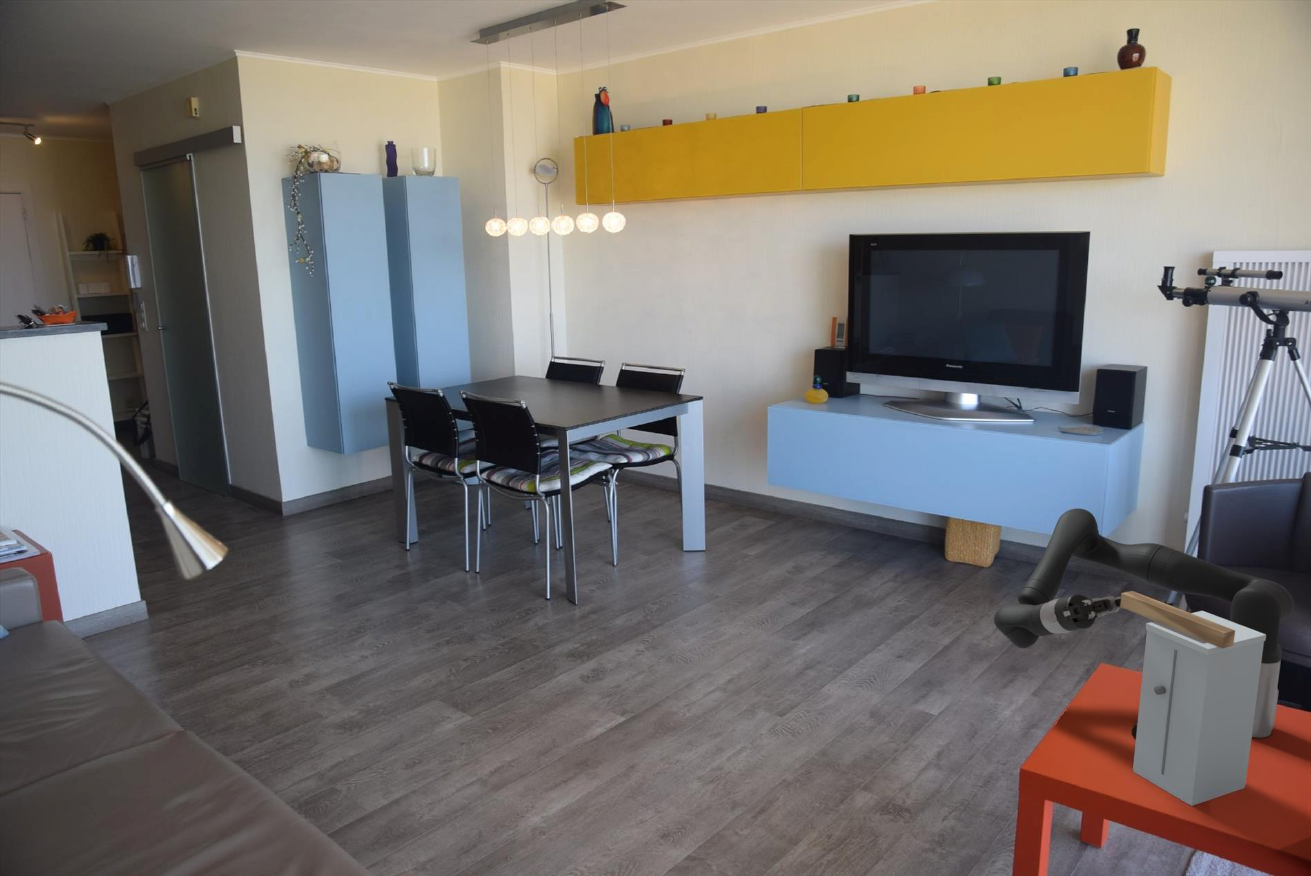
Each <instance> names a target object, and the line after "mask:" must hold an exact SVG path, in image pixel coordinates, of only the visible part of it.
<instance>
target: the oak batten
mask: <svg viewBox="0 0 1311 876" xmlns="http://www.w3.org/2000/svg"><path fill="white" fill-rule="evenodd" d="M1120 596H1121V605H1120V607H1122V609H1124V610H1127V611H1129V612H1131V613H1133V614H1137V615H1138V616H1142V617H1144V618H1147V619H1149V620H1151V621H1153V622H1154V621H1156V622H1158V623H1161V624H1163V625H1166V626H1168V627H1171V628H1173V629H1176V630H1178V631H1181V632H1183V633H1185V634H1188V635H1190V636H1193V637H1195V638H1198V639H1200V640H1203V641H1205V642H1208V643H1210V644H1213V645H1215V646H1217V647H1220V648H1226V647H1230V646H1233V645H1234V637H1235V630H1233V629H1230V628H1228V627H1225V626H1223V625H1220V624H1217V623H1215V622H1212V621H1209V620H1207V619H1204V618H1202V617H1199V616H1196V615H1194V614H1191V613H1192V612H1191V613H1190V612H1188V611H1186V610H1184V609H1180V608H1178V607H1176V606H1173V605H1170V604H1167V603H1165V602H1163V601H1159V600H1157V599H1155V598H1151V597H1150V596H1146V595H1143V594H1142V593H1138V592H1136V591H1133V590H1130V591H1125V592H1121V595H1120Z"/></svg>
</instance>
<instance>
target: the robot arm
mask: <svg viewBox="0 0 1311 876" xmlns="http://www.w3.org/2000/svg"><path fill="white" fill-rule="evenodd" d="M1099 531H1100V530H1099V526H1098V522H1097V520H1096V518H1095V516H1094V514H1093V513H1092V512H1091V511H1089V510H1086V509H1084V508H1077V507H1076V508H1071V509H1069V510H1067V511H1065V512H1063V513H1062V514H1061V515H1060V517H1058V520H1057V522H1056V524H1055V527H1054V529H1053V532H1052V535H1051V537H1050V539H1049V542H1048V544H1047V546H1046V547H1045V550H1044V552H1043V553H1042V556H1041V558H1040V559H1039V561H1038V563H1037V565H1036V567H1035V569H1034V570H1033V572H1032V574H1031V575H1030V577H1029V578H1028V579H1027V581H1026V582H1025V584H1024V586H1023V587H1022V589H1021V590H1020V591H1019V593H1018V595H1017V602H1018V603H1011V604H1006V605H1004V606H1001V607H1000V608H999V609H998V610H997V611H996V612H995V615H994V617H993V624H994V625H995V627H996V629H998V631H999V632H1000V633H1002V634H1003V635H1004V636H1005V637H1006V638H1007V639H1008V640H1009V641H1010V642H1011V643H1012V644H1013V645H1014V646H1015V647H1016V648H1019V649H1028V648H1030V647H1032V646H1033V645H1035V644H1036V642H1037V641H1038V640H1039V638H1040V637H1046V636H1051V635H1056V634H1067V633H1071V632H1076V631H1080V630H1086V629H1090V628H1091V627H1092V626H1093V625H1094V624H1095V621H1096V619H1097V618H1099V617H1100V618H1101V617H1104V616H1105V615H1108V614H1114V613H1117V612H1118V611H1119V610H1122V609H1123V608H1122V607H1120V605H1121V595H1120V596H1116V597H1114V596H1113V595H1109V596H1105V597H1095V598H1090V599H1089V598H1088V597H1087V596H1085V595H1084V594H1081V593H1074V594H1071V595H1066V596H1062V597H1058V598H1055V597H1056V596H1057V594H1058V592H1059V591H1060V588H1061V586H1062V583H1063V580H1064V578H1065V575H1066V571H1067V568H1068V566H1069V563H1070V560H1071V558H1072V557H1075V558H1077V559H1080V560H1081V559H1082V560H1084V561H1088V562H1091V563H1095V564H1099V565H1102V566H1105V567H1109V568H1111V569H1115V570H1117V571H1120V572H1122V573H1125V574H1128V575H1130V576H1133V577H1136V578H1138V579H1142V580H1143V581H1144V582H1148V583H1151V584H1153V585H1156V586H1159V587H1160V588H1163V589H1165V590H1169V591H1172V592H1176V593H1182V594H1187V595H1196V596H1203V597H1209V598H1215V599H1217V600H1221V601H1223V602H1225V603H1228V604H1231V606H1230V613H1229V614H1230V616H1229V621H1231V622H1234V623H1236V624H1239V625H1242V626H1244V627H1247V628H1250V629H1252V630H1255V631H1258V632H1260V633H1263V634H1266V640H1265V641H1264V645H1263V652H1262V660H1261V668H1260V676H1259V684H1258V691H1257V699H1256V707H1255V715H1254V723H1253V730H1252V738H1267V737H1269V736H1270V735H1272V730H1274V728H1275V720H1276V714H1277V713H1276V712H1277V706H1278V699H1279V689H1278V683H1279V676H1280V669H1281V660H1282V655H1283V648H1282V646H1281V645H1280V643H1278V642H1279V641H1278V640H1279V633H1280V632H1279V631H1280V629H1279V628H1280V623H1281V622H1283V621H1284V620H1286V619H1287V618H1288V617H1289V616H1290V615H1291V614H1292V612H1294V609H1295V600H1294V598H1293V595H1292V594H1291V593H1290V591H1288V589H1287V588H1285V587H1284V586H1283V585H1281V584H1280V583H1277V582H1275V581H1273V580H1269V579H1265V578H1261V577H1258V576H1254V575H1250V574H1245V573H1242V572H1238V571H1234V570H1232V569H1228V568H1224V567H1223V566H1220V565H1217V564H1214V563H1212V562H1209V561H1207V560H1204V559H1202V558H1198V557H1196V556H1193V555H1191V554H1188V553H1186V552H1183V551H1180V550H1178V549H1175V548H1172V547H1169V546H1166V545H1163V544H1160V543H1153V542H1145V543H1134V544H1128V543H1121V542H1118V541H1116V540H1113V539H1110V538H1108V537H1105V536H1103V535H1102V534H1100V532H1099Z"/></svg>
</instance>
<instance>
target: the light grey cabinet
mask: <svg viewBox="0 0 1311 876" xmlns="http://www.w3.org/2000/svg"><path fill="white" fill-rule="evenodd" d="M1191 614H1194V615H1196V616H1199V617H1202V618H1204V619H1207V620H1209V621H1212V622H1215V623H1217V624H1220V625H1223V626H1225V627H1228V628H1230V629H1233V630H1235V637H1234V645H1233V646H1230V647H1226V648H1220V647H1217V646H1215V645H1213V644H1210V643H1208V642H1205V641H1203V640H1200V639H1198V638H1195V637H1193V636H1190V635H1188V634H1185V633H1183V632H1181V631H1178V630H1176V629H1173V628H1171V627H1168V626H1166V625H1163V624H1161V623H1158V622H1156V621H1154V620H1153V621H1150V622H1147V623H1145V630H1146V638H1145V648H1144V654H1143V655H1144V656H1143V664H1142V665H1143V666H1142V675H1141V685H1140V696H1139V706H1138V707H1139V708H1138V714H1137V715H1138V717H1137V721H1138V724H1137V734H1136V739H1135V746H1134V755H1133V756H1134V757H1133V766H1132V772H1133V773H1135V774H1137V776H1140V777H1142V778H1143V779H1145V780H1147V781H1149V782H1150V783H1152V784H1154V785H1155V786H1157V787H1159V788H1160V789H1162V790H1164V791H1165V792H1167V793H1169V794H1170V795H1172V796H1174V797H1176V798H1177V799H1179V800H1181V801H1183V803H1186V804H1187V805H1189V806H1190V807H1192V806H1195V805H1199V804H1202V803H1204V802H1208V801H1211V800H1213V799H1216V798H1217V799H1218V798H1219V797H1222V796H1225V795H1228V794H1231V793H1235V792H1237V791H1240V790H1243V789H1245V788H1246V784H1247V776H1248V767H1249V761H1250V760H1249V759H1250V752H1251V746H1252V745H1251V743H1252V739H1253V737H1252V730H1253V723H1254V715H1255V707H1256V699H1257V691H1258V684H1259V676H1260V668H1261V660H1262V652H1263V645H1264V641H1265V640H1266V634H1263V633H1260V632H1258V631H1255V630H1252V629H1250V628H1247V627H1244V626H1242V625H1239V624H1236V623H1234V622H1231V621H1230V620H1229V619H1226V618H1224V617H1223V618H1222V617H1220V616H1218V615H1215V614H1212V613H1210V612H1207V611H1204V610H1199V611H1195V612H1191Z"/></svg>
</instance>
